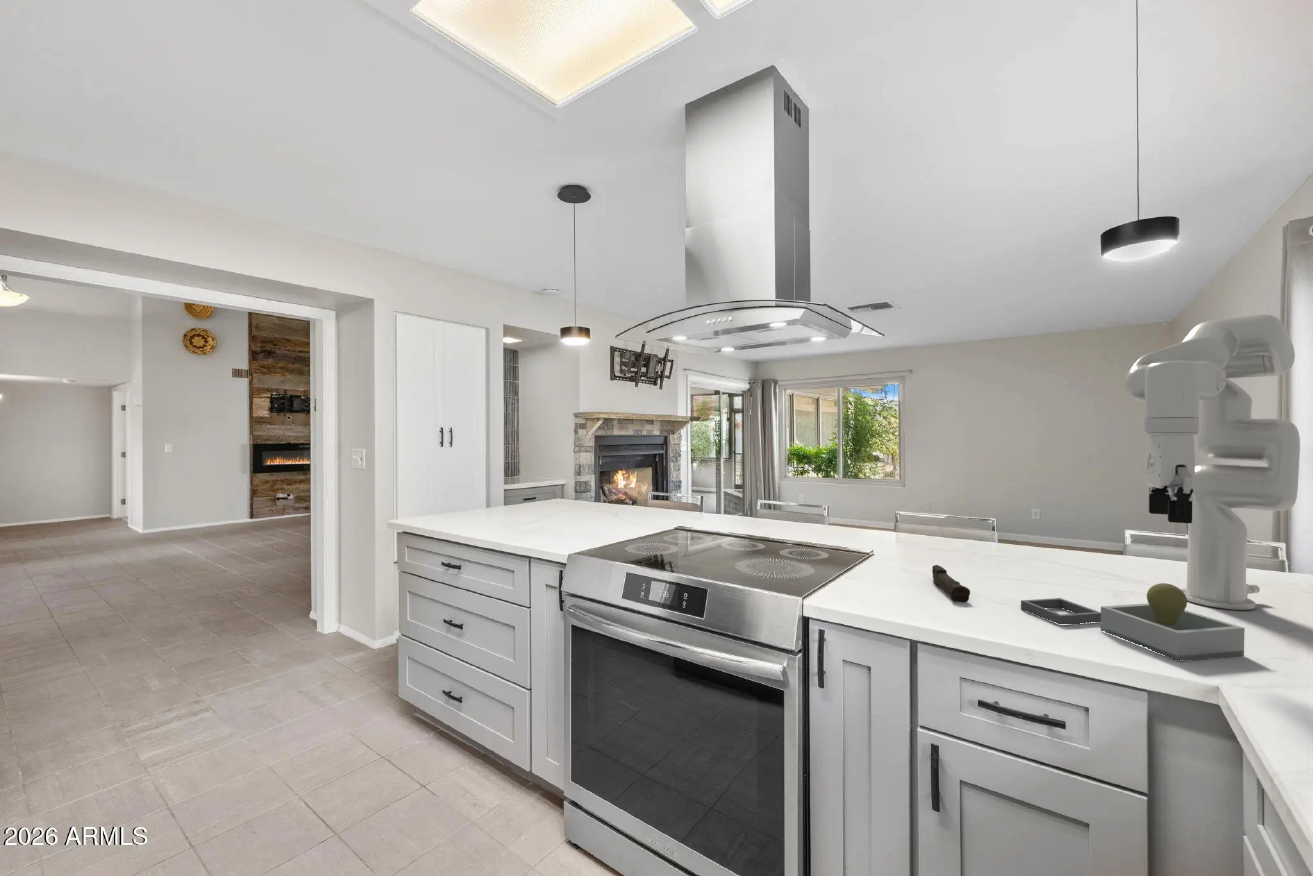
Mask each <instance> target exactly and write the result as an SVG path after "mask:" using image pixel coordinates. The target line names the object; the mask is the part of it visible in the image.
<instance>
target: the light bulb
mask: <svg viewBox="0 0 1313 876" xmlns="http://www.w3.org/2000/svg"><path fill="white" fill-rule="evenodd" d="M1180 589H1181V588H1179V587H1177V586H1176V585H1173V584H1171V583H1166V582H1165V583H1164V582H1161V583H1160V582H1159V583H1156V584H1153V585H1152V586H1151V587H1149V588H1148V590H1147V593H1146V600H1147V603H1149V605H1150V607H1151V608H1152V610H1153V612H1154V615H1155V619H1156V621H1157V624H1159V625H1162V626H1165V627H1168V628H1171V629H1174V628H1175V625H1176V624H1177V622H1178V619H1179V617H1180V615H1181V614H1182V612H1183V611H1184V610H1186V609H1187V605H1188V601H1187V598H1186V596H1185V594H1184V593H1183V592H1182V591H1181V590H1180ZM1174 630H1175V629H1174Z"/></svg>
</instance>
